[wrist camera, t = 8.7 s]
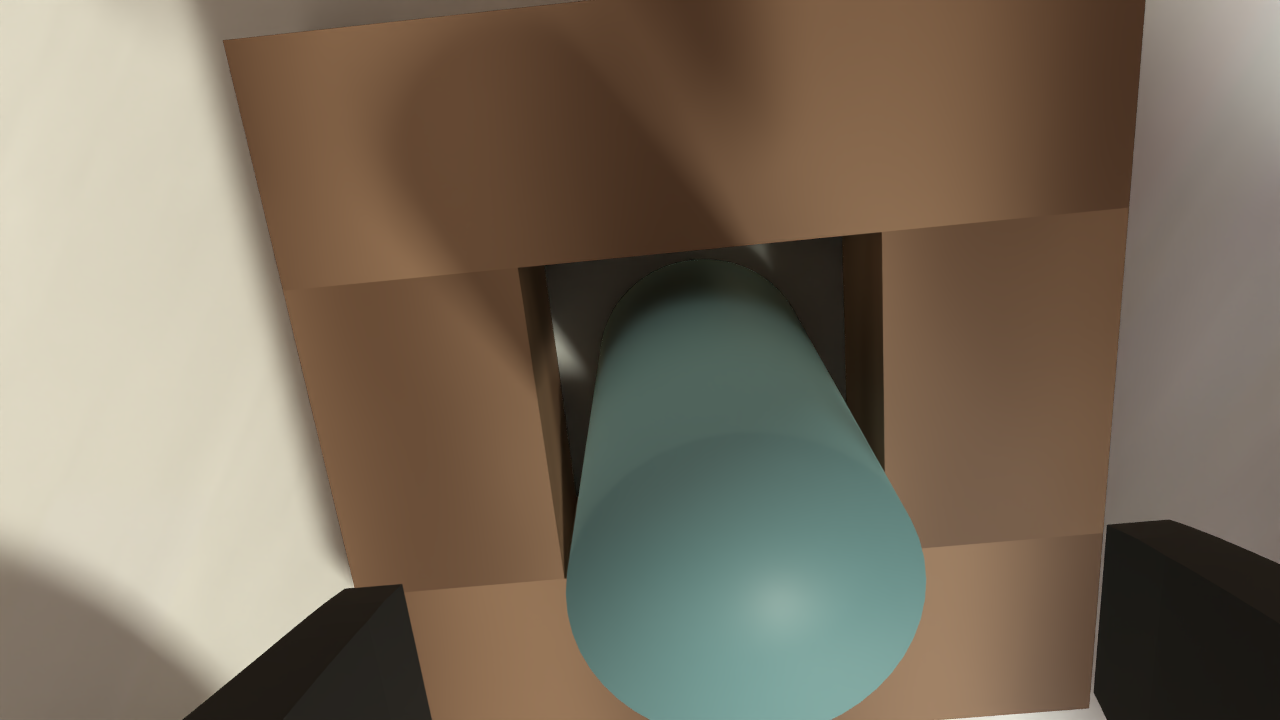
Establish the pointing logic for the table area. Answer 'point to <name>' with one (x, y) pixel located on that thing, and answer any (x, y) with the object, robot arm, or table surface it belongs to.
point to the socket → (695, 220)
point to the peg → (733, 514)
